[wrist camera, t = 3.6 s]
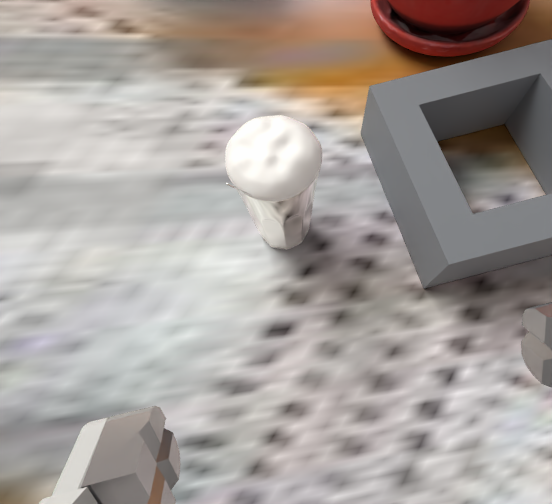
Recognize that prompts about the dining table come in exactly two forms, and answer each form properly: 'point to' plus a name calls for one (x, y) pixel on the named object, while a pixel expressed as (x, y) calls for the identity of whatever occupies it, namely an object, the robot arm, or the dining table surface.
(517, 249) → the socket collar
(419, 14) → the plant pot
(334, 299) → the dining table surface
